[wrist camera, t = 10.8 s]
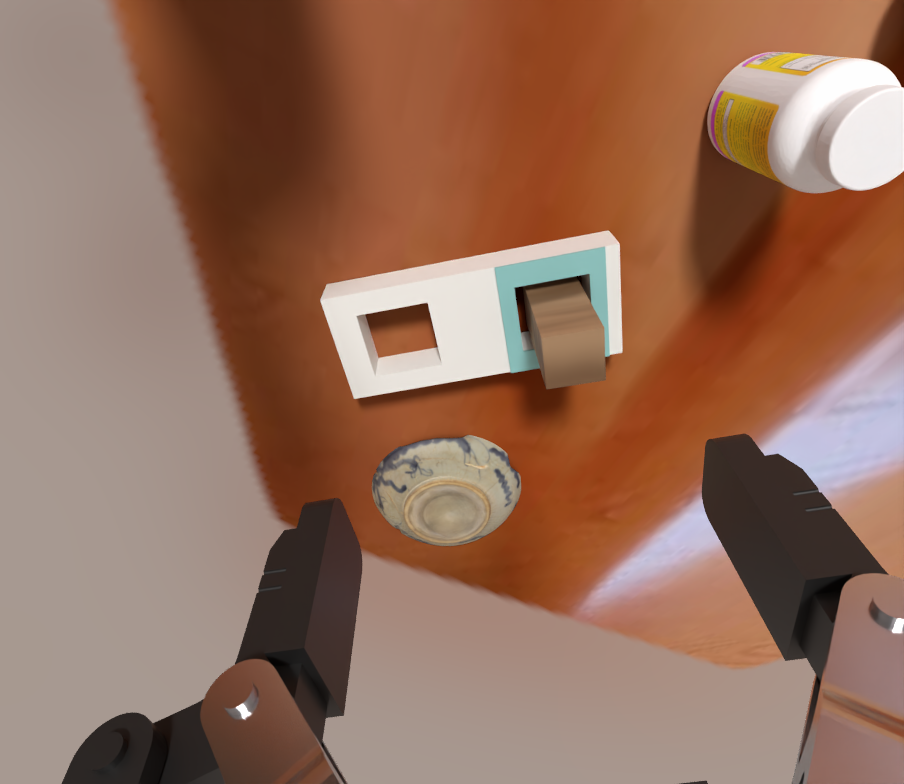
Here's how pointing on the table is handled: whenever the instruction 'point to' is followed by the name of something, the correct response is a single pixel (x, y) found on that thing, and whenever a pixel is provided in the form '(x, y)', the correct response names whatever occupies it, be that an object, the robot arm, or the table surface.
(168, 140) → the table surface
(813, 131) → the supplement bottle
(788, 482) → the robot arm
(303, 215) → the table surface
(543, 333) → the walnut peg
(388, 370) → the socket rail
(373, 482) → the decorative bowl
